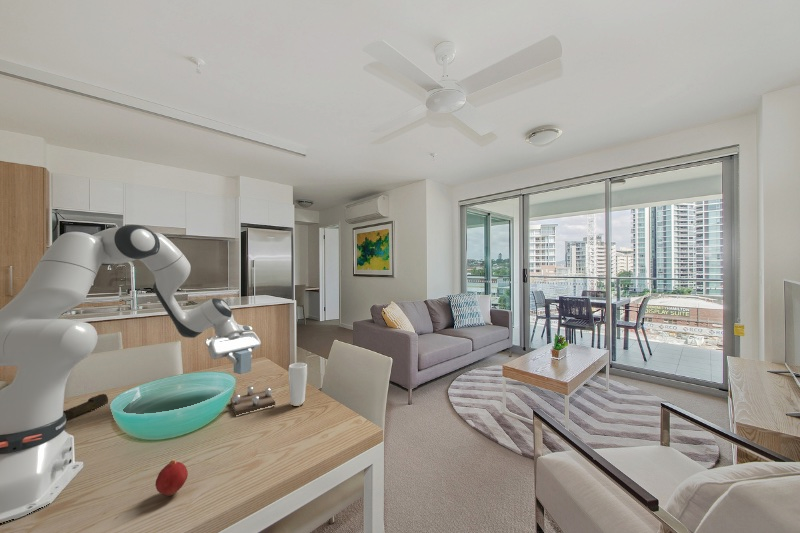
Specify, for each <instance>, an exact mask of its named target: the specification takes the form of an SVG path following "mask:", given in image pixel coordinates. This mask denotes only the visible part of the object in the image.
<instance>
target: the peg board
mask: <svg viewBox="0 0 800 533" xmlns="http://www.w3.org/2000/svg"><path fill="white" fill-rule="evenodd" d="M246 390H247V394H245V395H241V394H239V393H237V394H234V395H233V397H231V398H230V404H231V403H232V405H231V407H232V406H233V407H232V409H233V408H234V410H233V412H234V411H235V412H234V414H235V413H236V415H239V414H242V413H246V412H250V411H254V410H257V409H260V408H265V407H268V406H272V405H275V406H276V400H274V398H273V397H272V388H271V387H266V388H265V390H263V391H258V392H254V386H247V389H246ZM236 415H235V416H236Z"/></svg>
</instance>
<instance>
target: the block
mask: <svg viewBox="0 0 800 533" xmlns="http://www.w3.org/2000/svg"><path fill="white" fill-rule="evenodd" d="M251 355H252V352H251V351H247V350H243V351H238V352H234V355H233V356H234V357H235V358H238V360H239V362H238V363H237V364H233V373H234V374H238V375H243V374H246V373H249V372H252V359H251Z"/></svg>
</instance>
